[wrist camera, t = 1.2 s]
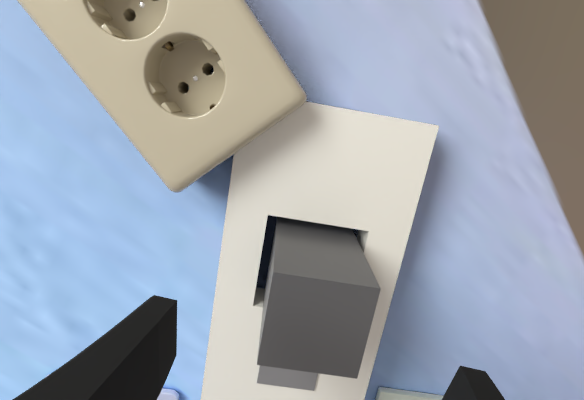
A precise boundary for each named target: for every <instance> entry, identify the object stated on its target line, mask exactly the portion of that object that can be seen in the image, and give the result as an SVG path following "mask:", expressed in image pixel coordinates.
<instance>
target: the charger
mask: <svg viewBox="0 0 584 400" xmlns="http://www.w3.org/2000/svg"><path fill="white" fill-rule="evenodd" d="M380 290H381V288H380V286H379V284H378V282H377V280H376V277H375V275H374V273H373V271H372V269H371V267H370V265H369V263H368V261H367V259H366V257H365V255H364V253H363V251H362V249H361V247H360V245H359V243H358V241H357V239H356V236H355V234H354V232H353V230H352V228H345V227H339V226H333V225H327V224H321V223H315V222H308V221H302V220H296V219H290V218H284V217H277V219H276V225H275V230H274V236H273V242H272V248H271V254H270V259H269V265H268V271H267V277H266V284H265V293H264V302H263V312H262V321H261V330H260V339H259V349H258V358H257V365H261V366H268V367H275V368H282V369H290V370H297V371H304V372H312V373H319V374H326V375H333V376H341V377H348V378H355V379H357V378H358V374H359V370H360V366H361V363H362V359H363V355H364V351H365V347H366V343H367V340H368V336H369V332H370V328H371V324H372V321H373V317H374V313H375V309H376V305H377V302H378V298H379V294H380Z"/></svg>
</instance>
